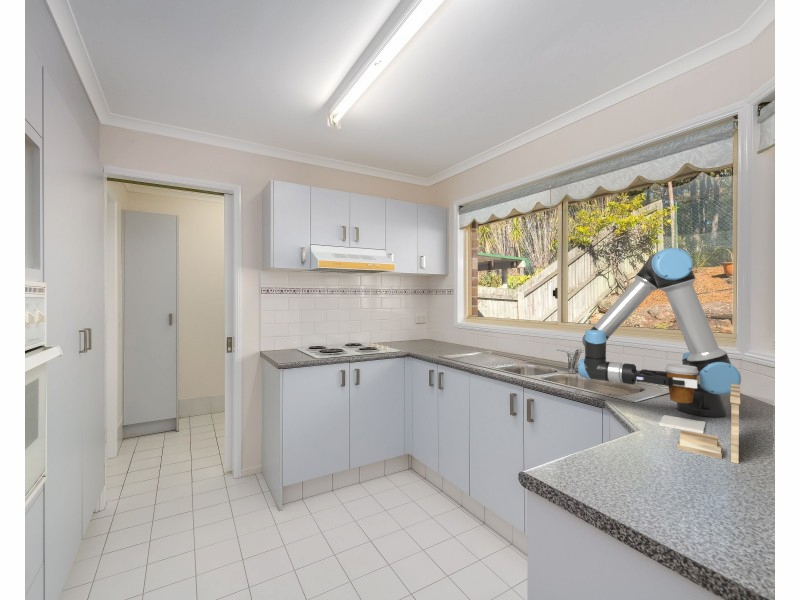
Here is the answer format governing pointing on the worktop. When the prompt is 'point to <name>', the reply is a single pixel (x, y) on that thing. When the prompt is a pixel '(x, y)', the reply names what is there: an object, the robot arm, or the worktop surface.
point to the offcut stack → (700, 444)
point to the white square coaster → (682, 424)
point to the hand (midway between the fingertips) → (698, 382)
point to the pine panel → (735, 422)
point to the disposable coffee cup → (680, 392)
